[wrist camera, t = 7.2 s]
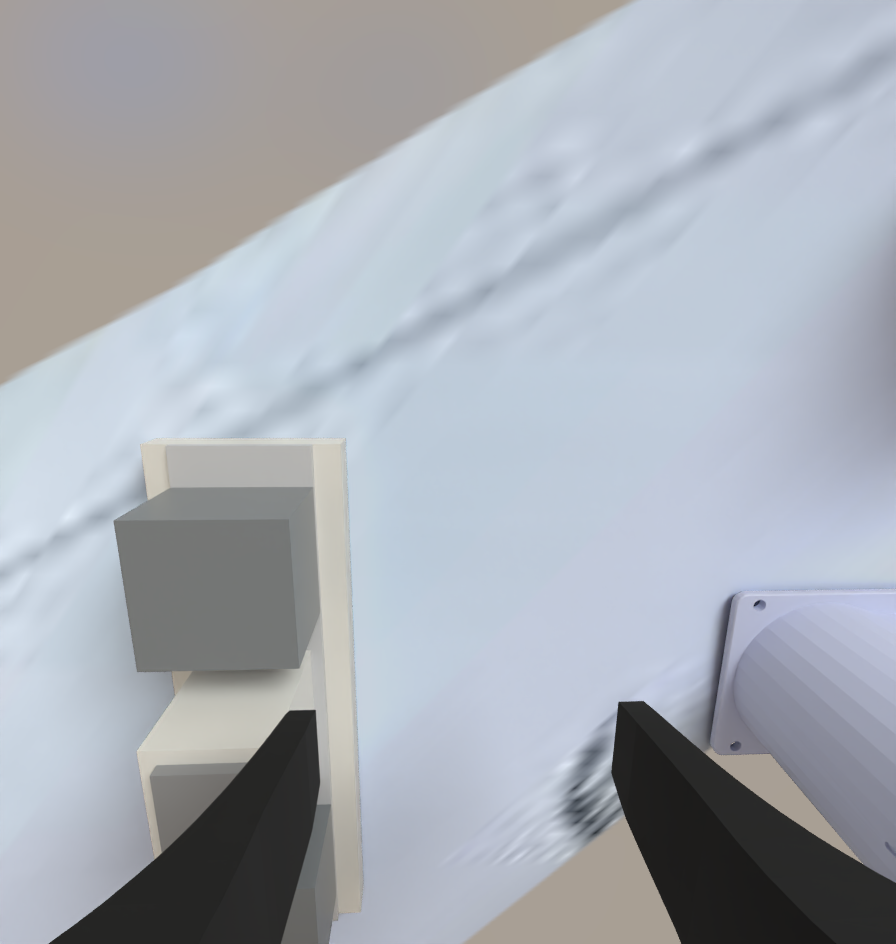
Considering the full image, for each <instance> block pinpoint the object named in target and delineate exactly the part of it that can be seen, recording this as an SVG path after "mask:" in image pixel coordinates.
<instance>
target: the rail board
mask: <svg viewBox="0 0 896 944" xmlns="http://www.w3.org/2000/svg"><path fill="white" fill-rule="evenodd" d="M140 447H141V454H142V461H143V468H144V476H145V483H146V490H147V497H148V501H147V502H145V503H143V504H141V505H140V506H138V507H136V508H135V509H133V510H131V511H129V512H128V513H126V514H124V515H122V516H121V517H119V518H117V519H116V520H114V526H115V533H116V539H117V546H118V552H119V558H120V565H121V571H122V578H123V584H124V590H125V597H126V603H127V609H128V616H129V622H130V629H131V635H132V641H133V648H134V654H135V661H136V667H137V672H166V671H172V678H173V685H174V693H175V696H176V694H177V693H178V691H179V690H180V689H181V687H182V686H183V684H184V683H185V681H186V680H187V678H188V677H189V676H190V674H191V673H192V671H213V670H260V669H299V668H300V665H301V663H302V660H303V657H304V655H305V652H306V650H310V651H311V666H312V682H313V697H314V710H316V721H317V737H318V753H319V768H320V788H319V794H318V800H317V806H316V812H315V818H314V823H313V829H312V833H311V837H310V841H309V844H308V848H307V852H306V855H305V859H304V863H303V866H302V870H301V873H300V877H299V881H298V884H297V888H296V891H295V895H294V898H293V902H292V906H291V909H290V913H289V916H288V920H287V924H286V927H285V931H284V934H283V938H282V941H281V944H329V939H330V932H331V926H332V921H336V920H338V915H339V913H359V912H361V905H362V895H363V861H362V836H361V811H360V786H359V761H358V736H357V711H356V686H355V661H354V636H353V611H352V586H351V561H350V536H349V511H348V486H347V461H346V438H156V439H154V440H151V441H148V442H145V443H143V444H140Z"/></svg>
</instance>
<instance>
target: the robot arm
mask: <svg viewBox="0 0 896 944" xmlns="http://www.w3.org/2000/svg"><path fill="white" fill-rule="evenodd" d="M758 600H760V602H759V604H758V605H757V606H754V604H755V602H756V601H758ZM733 742H735V743H733ZM731 743H733V744H731ZM710 745H711V747H712V748H713V750H714V751H715V752H716V753H717V754H719V755H741V754H771V755H772V756H773V758H774V759H775V760H776V761H777V762H778V763H779V765H780V766H781V767H782V768H783V769H784V771H785V772H786V773H787V774H788V775H789V777H790V778H791V779H792V780H793V781H794V783H795V784H796V785H797V786H798V787H799V788H800V789H801V791H802V792H803V793H804V794H805V796H806V797H807V798H808V799H809V800H810V801H811V803H812V804H813V805H814V806H815V807H816V809H817V810H818V811H819V812H820V813H821V815H823V817H824V818H825V819H826V820H827V822H828V823H829V824H830V825H831V826H832V828H833V829H834V830H835V831H836V832H837V833H838V835H839V836H840V837H841V838H842V839H843V841H844V842H845V843H846V844H847V845H848V846H849V848H850V849H851V850H852V851H853V852H854V854H855V855H856V856H857V857H858V858H859V860H860V861H861V862H862V863H863V864H864V865H863V864H862V863H860V862H858V861H856V860H855V859H853V858H851V857H850V856H848V855H846V854H844V853H843V852H841V851H840V850H838V849H836V848H834V847H833V846H831V845H830V844H828V843H826V842H825V841H823V840H822V839H820V838H818V837H817V836H815V835H814V834H812V833H811V832H809V831H808V830H806V829H805V828H803V827H802V826H800V825H799V824H797V823H796V822H794V821H792V820H791V819H790V818H788V817H787V816H785V815H784V814H782V813H781V812H780V811H778V810H777V809H775V808H774V807H773V806H771V805H770V804H768V803H767V802H766V801H764V800H763V799H761V798H760V797H759V796H757V795H756V794H755V793H754V792H752V791H751V790H750V789H748V788H747V787H746V786H744V785H743V784H742V783H740V782H739V781H738V780H736V779H735V778H734V777H733V776H731V775H730V774H729V773H728V772H726V771H725V770H724V769H723V768H721V767H720V766H719V765H718V764H716V763H715V762H714V761H713V760H712V759H710V758H709V757H708V756H707V755H706V754H704V753H703V752H702V751H701V750H700V749H699V748H697V747H696V746H695V745H694V744H693V743H691V742H690V741H689V740H688V739H687V738H686V737H685V736H683V735H682V734H681V733H680V732H679V731H678V730H676V729H675V728H674V727H673V726H672V725H671V724H670V723H668V722H667V721H666V720H665V719H664V718H663V717H662V716H660V715H659V714H658V713H657V712H656V711H655V710H653V709H652V708H651V707H650V706H649V705H647V704H646V703H645V702H644V701H635V702H619V703H618V713H617V723H616V732H615V742H614V752H613V762H612V772H611V773H612V776H613V780H614V783H615V786H616V789H617V793H618V796H619V799H620V802H621V805H622V808H623V811H624V814H625V817H626V820H627V822H628V824H629V827H630V829H631V831H632V833H633V836H634V838H635V840H636V842H637V845H638V847H639V849H640V851H641V854H642V856H643V858H644V860H645V863H646V865H647V867H648V869H649V872H650V874H651V876H652V878H653V880H654V883H655V885H656V887H657V889H658V891H659V894H660V896H661V898H662V900H663V903H664V905H665V907H666V909H667V911H668V914H669V916H670V918H671V920H672V922H673V925H674V927H675V929H676V932H677V934H678V937H679V939H680V941H681V944H896V589H846V590H779V591H742V592H739V593H738V594H736V595H735V596H734V598H733V600H732V603H731V610H730V616H729V623H728V629H727V635H726V642H725V648H724V655H723V661H722V668H721V674H720V680H719V687H718V693H717V700H716V706H715V712H714V719H713V725H712V732H711V738H710ZM319 788H320V768H319V753H318V737H317V721H316V710H289V711H288V712H287V713H286V714H285V715H284V717H283V718H282V719H281V721H280V722H279V723H278V725H277V726H276V727H275V728H274V730H273V731H272V732H271V734H270V735H269V736H268V738H267V739H266V740H265V741H264V743H263V744H262V745H261V746H260V748H259V749H258V750H257V751H256V753H255V754H254V755H253V756H252V758H251V759H250V760H249V761H248V762H247V764H246V765H245V766H244V767H243V768H242V770H241V771H240V772H239V773H238V774H237V775H236V777H235V778H234V779H233V780H232V781H231V782H230V784H229V785H228V786H227V787H226V788H225V789H224V790H223V791H222V792H221V794H220V795H219V796H218V797H217V798H216V799H215V800H214V801H213V802H212V803H211V804H210V805H209V807H208V808H207V809H206V810H205V811H204V812H203V813H202V814H201V815H200V816H199V817H198V818H197V819H196V820H195V821H194V822H193V823H192V824H191V825H190V826H189V827H188V828H187V829H186V830H185V831H184V832H183V833H182V834H181V835H180V836H179V837H178V838H177V839H176V840H175V841H174V842H173V843H172V844H171V845H170V846H169V847H168V848H167V849H166V850H165V851H163V852H162V853H161V854H160V855H159V856H158V857H157V858H156V859H155V860H154V861H153V862H151V863H150V864H149V865H148V866H147V867H146V868H144V869H143V870H142V871H141V872H140V873H139V874H138V875H136V876H135V877H134V878H133V879H132V880H130V881H129V882H128V883H127V884H126V885H124V886H123V887H122V888H121V889H120V890H118V891H117V892H116V893H115V894H114V895H112V896H111V897H110V898H109V899H108V900H106V901H105V902H104V903H102V904H101V905H100V906H99V907H97V908H96V909H95V910H93V911H92V912H91V913H89V914H88V915H87V916H86V917H84V918H83V919H82V920H80V921H79V922H78V923H76V924H75V925H74V926H72V927H71V928H69V929H68V930H67V931H65V932H64V933H63V934H61V935H60V936H58V937H57V938H56V939H54V940H53V941H52V942H50V943H49V944H281V941H282V938H283V934H284V931H285V927H286V924H287V920H288V916H289V913H290V909H291V906H292V902H293V898H294V895H295V891H296V888H297V884H298V881H299V877H300V873H301V870H302V866H303V863H304V859H305V855H306V852H307V848H308V844H309V841H310V837H311V833H312V829H313V823H314V818H315V812H316V806H317V800H318V794H319Z"/></svg>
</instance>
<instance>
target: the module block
mask: <svg viewBox="0 0 896 944" xmlns="http://www.w3.org/2000/svg"><path fill="white" fill-rule="evenodd" d="M289 710H314V697H313V682H312V666H311V651H310V650H306V652H305V655H304V657H303V660H302V663H301V665H300V668H299V669H260V670H213V671H192V673H191V674H190V676H189V677H188V678H187V680H186V681H185V683H184V684H183V686H182V687H181V689H180V690H179V691H178V693H177V694H176V696H175V697H174V699H173V700H172V701H171V703H170V704H169V706H168V707H167V709H166V710H165V712H164V713H163V714H162V716H161V717H160V719H159V720H158V722H157V723H156V724H155V726H154V727H153V729H152V730H151V732H150V733H149V734H148V736H147V737H146V739H145V740H144V742H143V743H142V745H141V746H140V747H139V749H138V750H137V757H138V763H139V769H140V775H141V781H142V787H143V793H144V799H145V805H146V811H147V817H148V823H149V829H150V835H151V842H152V848H153V854H154V860H155V859H156V858H157V857H158V856H159V855H160V854H161V853H162V852H163V851H165V850H166V849H167V848H168V847H169V846H170V845H171V844H172V843H173V842H174V841H175V840H176V839H177V838H178V837H179V836H180V835H181V834H182V833H183V832H184V831H185V830H186V829H187V828H188V827H189V826H190V825H191V824H192V823H193V822H194V821H195V820H196V819H197V818H198V817H199V816H200V815H201V814H202V813H203V812H204V811H205V810H206V809H207V808H208V807H209V805H210V804H211V803H212V802H213V801H214V800H215V799H216V798H217V797H218V796H219V795H220V794H221V792H222V791H223V790H224V789H225V788H226V787H227V786H228V785H229V784H230V782H231V781H232V780H233V779H234V778H235V777H236V775H237V774H238V773H239V772H240V771H241V770H242V768H243V767H244V766H245V765H246V764H247V762H248V761H249V760H250V759H251V758H252V756H253V755H254V754H255V753H256V751H257V750H258V749H259V748H260V746H261V745H262V744H263V743H264V741H265V740H266V739H267V738H268V736H269V735H270V734H271V732H272V731H273V730H274V728H275V727H276V726H277V725H278V723H279V722H280V721H281V719H282V718H283V717H284V715H285V714H286V713H287V712H288V711H289Z"/></svg>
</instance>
